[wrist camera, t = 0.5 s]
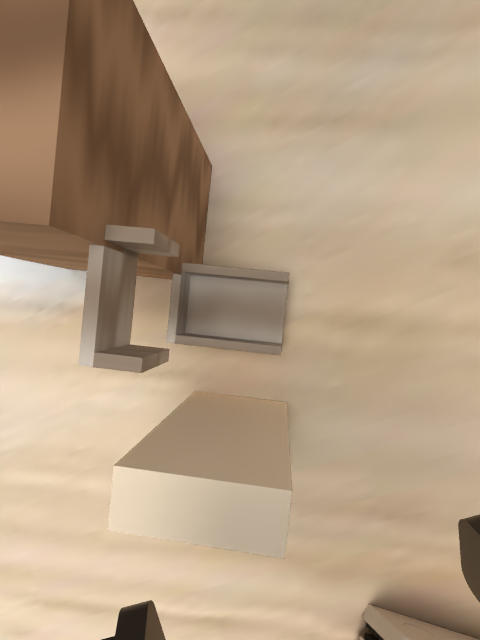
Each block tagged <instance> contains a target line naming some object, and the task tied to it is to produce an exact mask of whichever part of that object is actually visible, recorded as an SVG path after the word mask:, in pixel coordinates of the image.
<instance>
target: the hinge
mask: <svg viewBox="0 0 480 640" xmlns="http://www.w3.org/2000/svg"><path fill="white" fill-rule="evenodd" d="M362 618H363V619H364V620H365V621H366V627H367V628H368V629H369V630H370V631H371V632H372V633H373V634H374V635H372V634H369V633H366V632H365V634H364V637H362V636H359V640H480V639H476V638H473V637H470V636H467V635H464V634H461V633H458V632H455V631H451V630H448V629H445V628H442V627H439V626H436V625H433V624H430V623H426V622H423V621H420V620H417V619H414V618H411V617H408V616H404V615H401V614H398V613H395V612H392V611H389V610H386V609H383V608H379V607H376V606H373V605H370V604H368V606H367V607H366V609H365V612H364V615H363V617H362Z"/></svg>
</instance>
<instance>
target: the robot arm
mask: <svg viewBox="0 0 480 640" xmlns="http://www.w3.org/2000/svg"><path fill="white" fill-rule="evenodd" d="M458 525H459V540H460V554H461V566H462V571H463V574H464V577H465V579H466V582H467V584H468V586H469V588H470V589H471V591H472V593H473V594H474V595H475V597H476V598H477V599H478V601H479V602H480V515H476V516H472V517H469V518H465V519H461V520H460V521H459V524H458ZM102 640H166V639H165V636H164V633H163V630H162V627H161V624H160V621H159V618H158V614H157V611H156V608H155V605H154V603H153V601H152V600H150V601H146V602H143V603H139V604H135V605H131V606H127V607H124V608H121V610H120V612H119V616H118V622H117V628H116V634H115V636H113V637H110V638H106V639H102Z"/></svg>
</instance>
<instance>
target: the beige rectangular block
mask: <svg viewBox="0 0 480 640" xmlns="http://www.w3.org/2000/svg"><path fill="white" fill-rule="evenodd" d="M291 496H292V481H291V464H290V446H289V429H288V411H287V402H280V401H271V400H263V399H255V398H247V397H239V396H231V395H223V394H215V393H206V392H198V391H195V392H194V393H193V394H192V395H190V396H189V397H188V398H187V399H186V400H185V401H184V402H183V403H182V404H181V405H179V406H178V407H177V408H176V409H175V410H174V411H173V412H172V413H171V414H170V415H169V416H167V417H166V418H165V419H164V420H163V421H162V422H161V423H160V424H159V425H158V426H157V427H155V428H154V429H153V430H152V431H151V432H150V433H149V434H148V435H147V436H146V437H144V438H143V439H142V440H141V441H140V442H139V443H138V444H137V445H136V446H135V447H134V448H132V449H131V450H130V451H129V452H128V453H127V454H126V455H125V456H124V457H123V458H122V459H120V460H119V461H118V462H117V463H116V464H115V465H114V469H113V479H112V490H111V500H110V511H109V521H108V531H111V532H117V533H124V534H130V535H136V536H143V537H149V538H155V539H162V540H168V541H174V542H180V543H187V544H193V545H199V546H206V547H212V548H218V549H225V550H231V551H237V552H244V553H250V554H256V555H263V556H269V557H275V558H282V559H285V552H286V543H287V533H288V524H289V515H290V505H291Z"/></svg>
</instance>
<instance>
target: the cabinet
mask: <svg viewBox="0 0 480 640" xmlns="http://www.w3.org/2000/svg"><path fill="white" fill-rule="evenodd" d="M211 170H212V165H211V163H210V161H209V159H208V157H207V155H206V152H205V150H204V148H203V146H202V144H201V142H200V140H199V138H198V136H197V134H196V131H195V129H194V127H193V125H192V123H191V121H190V119H189V117H188V115H187V113H186V111H185V108H184V106H183V104H182V102H181V100H180V98H179V96H178V94H177V92H176V90H175V87H174V85H173V83H172V81H171V79H170V77H169V75H168V73H167V71H166V69H165V67H164V64H163V62H162V60H161V58H160V56H159V54H158V52H157V50H156V48H155V46H154V43H153V41H152V39H151V37H150V35H149V33H148V31H147V29H146V27H145V25H144V23H143V20H142V18H141V16H140V14H139V12H138V10H137V8H136V6H135V4H134V2H133V0H0V255H2V256H7V257H12V258H16V259H21V260H26V261H31V262H36V263H41V264H46V265H51V266H56V267H61V268H66V269H73V270H83V271H87V279H86V290H85V300H84V311H83V322H82V333H81V344H80V355H79V366H87V367H96V368H104V369H112V370H120V371H129V372H137V373H142V372H145V371H147V370H149V369H152V368H154V367H156V366H159V365H161V364H163V363H165V362H168V358H169V349H163V348H155V347H146V346H137V345H130V338H131V328H132V317H133V307H134V296H135V286H136V276H145V277H155V278H165V279H172V289H171V299H170V310H169V320H168V330H167V340H166V343H175V344H184V345H193V346H202V347H211V348H220V349H229V350H237V351H246V352H255V353H264V354H273V355H281V349H282V336H283V327H284V318H285V308H286V299H287V289H288V282H289V273H287V272H276V271H265V270H255V269H244V268H233V267H223V266H212V265H202V260H203V250H204V240H205V230H206V220H207V210H208V200H209V190H210V180H211Z"/></svg>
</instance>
